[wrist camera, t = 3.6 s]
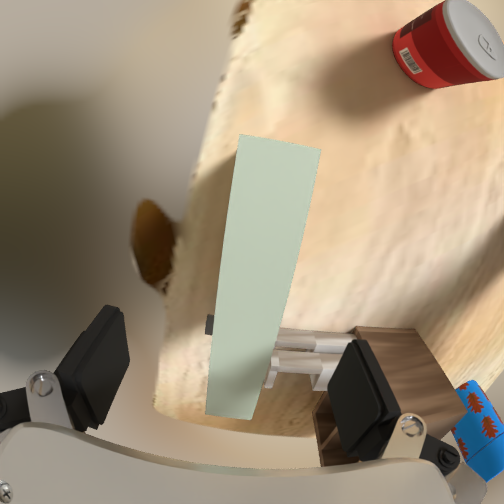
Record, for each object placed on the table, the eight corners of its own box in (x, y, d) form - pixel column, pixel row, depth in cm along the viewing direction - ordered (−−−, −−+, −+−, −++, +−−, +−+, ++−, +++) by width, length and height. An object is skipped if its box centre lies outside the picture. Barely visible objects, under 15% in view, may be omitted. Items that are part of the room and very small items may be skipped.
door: (239, 141, 24) (212, 130, 9) (281, 148, 24) (321, 149, 9) (217, 291, 30) (190, 411, 15) (253, 296, 30) (251, 419, 15)
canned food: (441, 101, 21) (509, 96, 11) (385, 68, 20) (446, 40, 10) (447, 51, 18) (506, 34, 8) (393, 18, 17) (444, -19, 7)
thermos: (444, 394, 39) (487, 481, 16) (480, 372, 38) (527, 448, 15) (437, 416, 43) (469, 493, 20) (470, 397, 42) (507, 466, 18)
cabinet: (270, 317, 31) (278, 439, 16) (414, 329, 32) (467, 411, 17) (246, 408, 38) (243, 496, 23) (363, 410, 39) (385, 483, 24)
